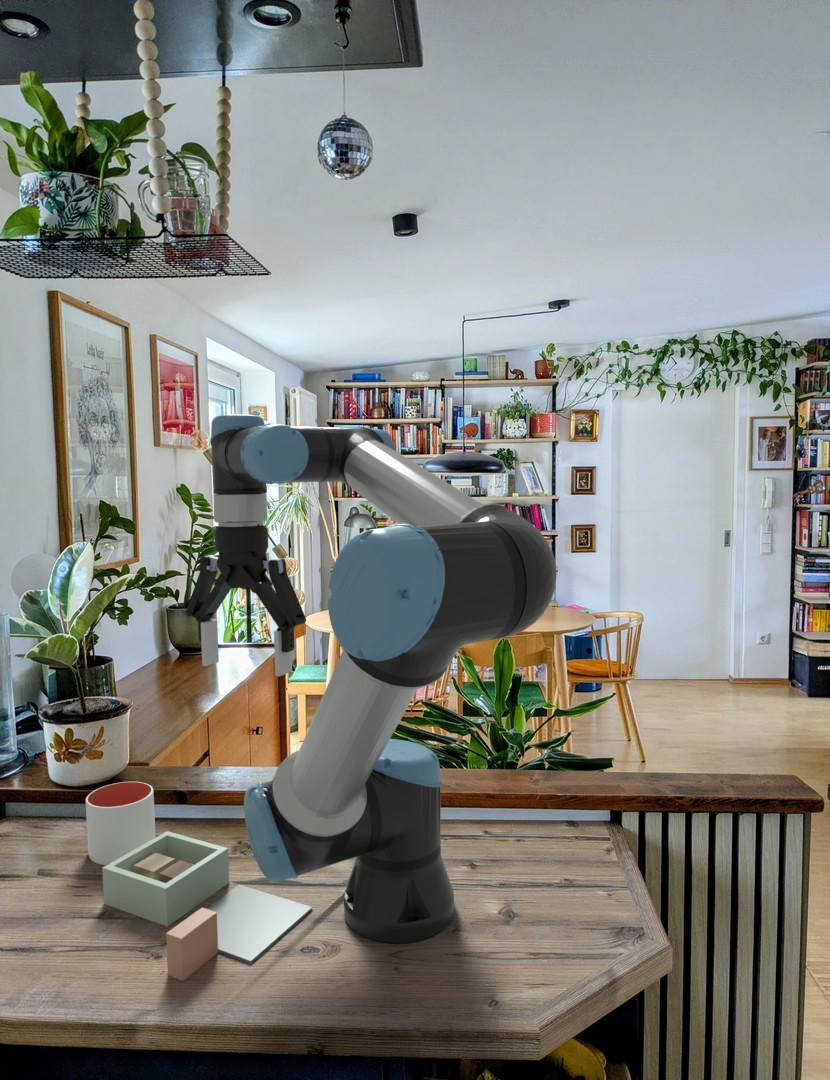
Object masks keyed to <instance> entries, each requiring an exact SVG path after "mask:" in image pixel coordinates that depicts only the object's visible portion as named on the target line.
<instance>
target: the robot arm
mask: <svg viewBox="0 0 830 1080" xmlns="http://www.w3.org/2000/svg"><path fill="white" fill-rule="evenodd" d="M210 424H211V425H210V427H211V428H210V432H211V433H210V439H209V443H210V446H211V449H210V450H211V451H210V452H211V471H212V491H213V492H212V493H213V495H212V497H213V521H214V522H215V523H217V524H218V525H217V526H215V528H213V529H214V549H215V551H216V552H218V555H217V554H211V555H210V554H209V555H205V556H204V555H203V556H202V557H200V566H199V567H200V568H199V569H200V570H199V573H198V576H197V579H196V581H195V585H194V587H193V590H192V593H191V596H190V599H189V602H188V605H187V608H186V610H185V613H186V616H187V617H192V618H194V619H195V620H196V621H197V631H198V633H197V635H198V641H199V643H201V661H202V662H201V663H202V664H201V666H203V667H208V666H210V665H214V664H217V663H219V634H218V631H219V629H218V619H216V616H215V614H216V612H217V611H218V610H219V608H220V607H221V605H222V604H223V602H224V600H225V599H226V597H227V596H228V595H229V593H230V591H231V590H232V589H238V588H239V589H242V590H250V592H252V593H254V594H255V595H256V596H257V597H258V599H259V600H260V602H261V603H262V605H263V607H264V608H265V609H266V611H267V612H268V614H269V615H270V617H271V618H272V620H273V621H274V623H275V624H276V626H277V629H275V630H273V637H274V638H273V641H274V643H273V645H274V675H275V677H282V676H285V675H287V674H290V673H292V658H291V657H292V652H293V651H294V649H295V628H296V627H298V626H300V625H303V624H306V623H307V617H306V616H305V613H304V610H303V608H302V605H301V603H300V601H299V598H298V597H297V594H296V591H295V589H294V587H293V585H292V582H291V580H290V577H289V575H288V571H287V564H286V563H287V562H286V559H285V558H283V557H280V558H274V559H270V560H268V558H267V557H268V556H267V554H266V553H267V551H268V548H269V527H268V526H267V525H266V524H264V522H267V520H268V501H267V499H268V497H267V494H268V492H267V491H268V490H267V485H274V484H285V483H287V484H289V483H337V482H340V483H344V485H346V486H348V487H349V488H351V489H352V490H354V492H356V493H357V494H358V495H360V496H361V497H362V498H364V499H365V500H366V501H367V502H369V503H371V504H372V505H373V506H375V507H376V508H377V509H378V510H379V511H381V512H382V513H383V514H385V515H386V516H387V517H388V518H390V519H392V520H393V521H394V522H395V523H396V524H391V525H388V526H385V527H379V528H371V529H368V530H365V531H362V532H360V533H358V534H356V535H355V536H353V538H351V539H349V541H348V542H346V544H345V545H344V546H343V547H342V549H340V552H339V553H338V555H337V557H336V559H335V561H334V564H333V567H332V569H331V574H330V577H329V584H328V589H329V590H330V593H331V595H330V597H329V598H328V599H327V606H328V607H327V608H328V616H329V621H330V625H331V628H332V631H333V634H334V636H335V638H336V640H337V641H338V643H339V645H340V647H341V650H342V652H341V654H340V656H339V659H338V661H337V663H336V666H335V668H334V670H333V672H332V675H331V677H330V680H329V681H328V683H327V686H326V688H325V691H324V693H323V695H322V697H321V700H320V702H319V704H318V706H317V709H316V712H315V714H314V716H313V717H312V721H311V723H310V725H309V727H308V730H307V732H306V734H305V736H304V738H303V740H302V743H301V745H300V748H299V750H295V752H292V753H290V754H289V755H288V756H287V757H285V759H283V760H282V762H280V764H279V766H278V768H277V769H276V771H275V773H274V774H273V778H272V780H271V781H267V782H264V783H262V782H257V784H254V785H252V786H250V787H249V788H247V790H246V792H245V793H244V798H243V812H244V821H245V822H244V823H245V826H246V830H247V836H248V840H249V844H250V848H251V850H252V854H253V856H254V859H255V862H256V864H257V866H258V868H259V870H260V871H261V873H262V874H263V876H264V878H266V879H268V880H269V881H271V882H274V883H275V882H282V881H287V880H291V879H294V880H295V879H297V878H298V876H302V875H306V874H307V873H311V872H314V871H317V870H321V869H323V868H326V867H330V866H333V865H336V864H338V863H342V862H345V861H347V860H350V859H354V858H355V859H354V862H353V866H352V869H351V872H350V875H349V878H348V882H347V885H346V887H345V888H346V889H345V892H344V898H343V914H344V919H345V921H346V923H347V925H348V926H349V927H350V928H351V930H353V931H354V932H356V933H357V934H358V935H360V936H363V937H364V938H367V939H369V940H373V941H377V942H381V943H382V942H383V943H389V944H391V943H392V944H393V943H394V944H401V943H402V944H403V943H412V942H417V941H418V942H419V941H421V940H424V939H428V938H430V937H432V936H434V935H436V934H438V933H440V932H442V931H443V930H444V929H445V928H446V927H447V926H448V925H450V923H451V921H452V920H453V917H454V914H455V894H454V889H453V887H452V883H451V881H450V877H449V875H448V872H447V868H446V866H445V863H444V860H443V857H442V852H441V851H442V846H441V844H442V842H441V841H442V839H441V837H442V833H441V830H442V829H441V828H442V827H441V823H442V822H441V820H442V819H441V814H442V813H441V787H442V784H443V783H442V780H441V779H442V778H441V770H440V761H439V759H438V756H437V755H436V754H435V752H434V751H433V750H431V749H430V748H429V747H426V746H424V745H422V744H419V743H416V742H414V741H412V742H411V741H409V740H403V739H396V738H391V737H392V736H393V734H394V732H395V731H396V729H397V727H398V725H399V724H400V721H401V720H402V718H403V716H404V715H405V713H406V711H407V708H408V707H409V706H410V703H411V701H412V700H413V698H414V696H415V694H416V693H417V692H418V689H422V688H425V687H428V686H431V685H433V684H435V682H437V681H438V680H440V679H441V678H442V677H443V675H444V674H445V672H446V671H447V669H448V667H449V665H450V664H451V663H452V661H453V659H454V658H455V656H456V654H457V652H458V651H459V649H461V648H462V647H464V646H465V645H470V644H474V643H481V642H485V641H492V640H499V639H502V638H508V637H512V636H515V635H517V634H520V633H521V632H524V631H525V630H527V629H528V628H529V627H532V626H533V625H534V624H535V623H536V622H537V621H538V620H539V619H540V618H541V617H542V616H543V615H544V613H545V612H546V610H547V609H548V607H549V605H550V603H551V602H552V599H553V596H554V593H555V590H556V584H557V573H558V572H557V564H556V559H555V555H554V553H553V551H552V548H551V545H550V544H549V542H548V541H547V539H546V537H544V535H543V534H542V533H541V531H539V529H538V528H537V527H536V526H534V525H533V524H532V523H531V522H530V521H528V520H527V519H525V517H522V516H521V515H519V514H517V513H516V512H514V511H512V510H511V509H510V508H508V507H505V506H504V505H501V504H499V503H486V504H483V503H481V501H478V500H476V499H475V498H473V497H471V496H470V495H468V494H466V493H464V492H463V491H461V490H460V489H458V488H456V487H455V486H453V485H451V484H450V483H448V482H447V481H445V480H443V479H442V478H440V477H439V476H437V475H436V474H434V473H432V472H430V471H429V470H427V469H426V468H424V467H422V466H420V465H419V464H417V463H415V462H414V461H412V460H411V459H409V458H407V457H406V456H404V455H402V454H400V453H399V452H397V449H396V444H395V442H394V440H392V436H391V434H389V432H388V431H385V430H384V429H378V428H370V427H367V426H361V427H336V426H335V427H334V426H333V427H329V426H328V427H325V426H324V427H321V426H298V425H296V426H295V425H294V426H293V425H287V424H284V423H270V422H269V423H265V421H264V419H263V418H262V417H261V416H260V415H256V414H255V415H254V414H225V415H224V414H221V415H217V416H215V417H213V419H212V420H211V423H210ZM218 570H219V572H220V573H219V575H218ZM267 574H268V575H269V576H268V575H267ZM217 575H218V577H217ZM216 578H217V579H216Z"/></svg>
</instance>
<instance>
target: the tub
mask: <svg viewBox="0 0 830 1080" xmlns="http://www.w3.org/2000/svg"><path fill="white" fill-rule="evenodd" d="M153 853H158V854H161V855H164V856H168V857H171V858H174V859H175V863H176V862H178V861H180V860H181V861H184V862H187V863H191V864H194V866H192V867H190V868H189V869H187V870H186V871H184V872H183V873H181V874H180V875H178V876H176V877H175V878H173V879H172V880H170V881H169V882H167V883H164V882H161V881H158V880H155V879H152V878H148V877H145V876H142V875H139V874H136V873H134V871H133V865H134V864H136V863H138V862H139V861H141V860H143V859H145V858H146V857H148V856H150V855H151V854H153ZM229 865H230V864H229V848H228V847H225V846H222V845H219V844H214V843H210V842H207V841H203V840H200V839H196V838H193V837H189V836H186V835H184V834H183V835H182V834H179V833H175V832H171V831H165V832H163V833H162V834H160V835H158V836H155V838H154V839H152V840H151V841H149V842H147V843H145V844H144V845H142V846H140V847H138V848H136V849H135V850H133V851H131V852H129V853H128V854H126V855H124V856H122V857H120V858H119V859H117V860H115V861H113V862H112V863H110V864H108V865H103V866H102V867H101V869H102V886H103V887H102V888H103V889H102V890H103V904H104V905H107V906H109V907H111V908H115V909H118V910H119V911H123V912H125V913H128V914H131V915H133V916H136V917H139V918H142V919H145V920H147V921H150V922H153V923H156V924H158V925H162V926H164V927H169V926H171V925H172V924H173V923H175V922H177V920H179V919H181V918H182V917H184V916H185V915H186V914H187V913H189V912H190V911H191V910H193V909H195V908H196V907H197V906H199V905H200V904H202V903H203V902H205V901H206V900H207V899H209V898H210V897H211V896H213V895H214V894H216V893H217V892H218V891H220V890H221V889H223V888H224V887H226V886H228V885H229V884H230V868H229Z"/></svg>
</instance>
